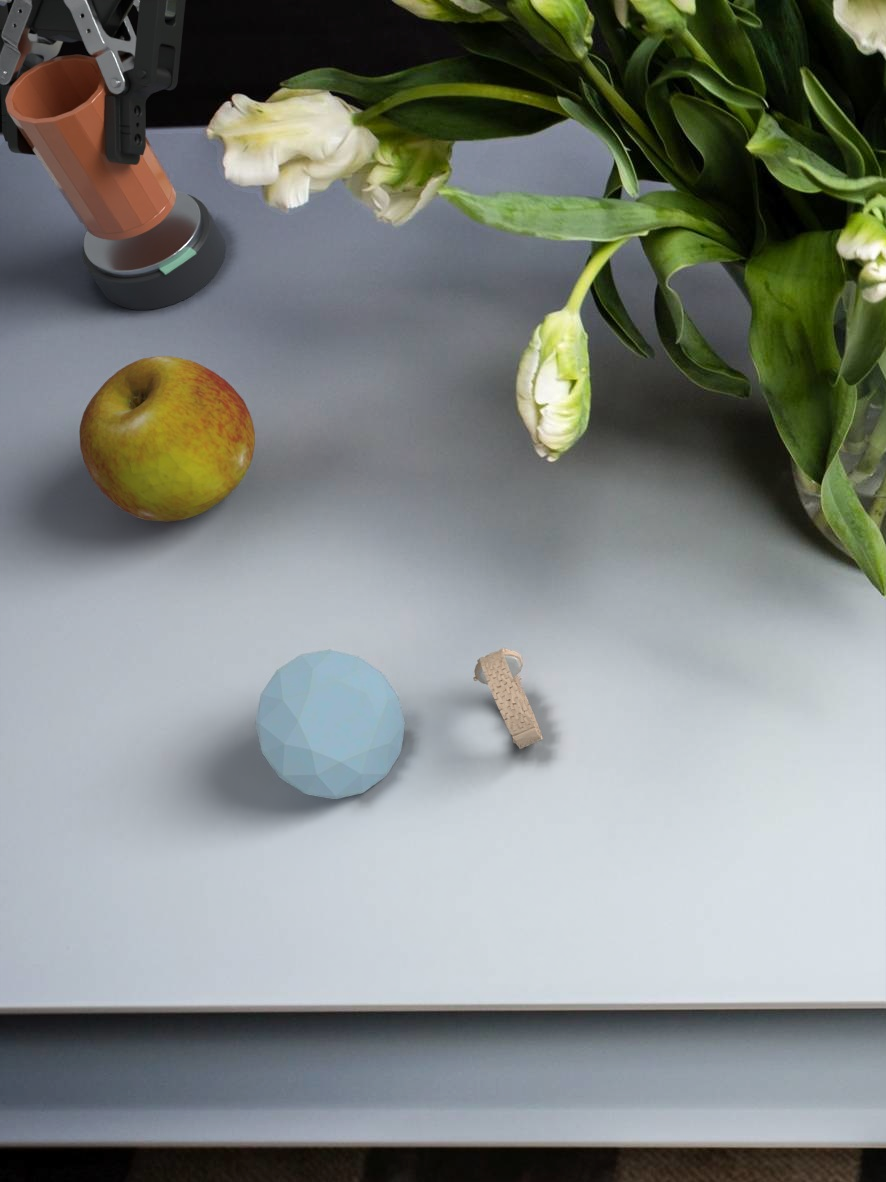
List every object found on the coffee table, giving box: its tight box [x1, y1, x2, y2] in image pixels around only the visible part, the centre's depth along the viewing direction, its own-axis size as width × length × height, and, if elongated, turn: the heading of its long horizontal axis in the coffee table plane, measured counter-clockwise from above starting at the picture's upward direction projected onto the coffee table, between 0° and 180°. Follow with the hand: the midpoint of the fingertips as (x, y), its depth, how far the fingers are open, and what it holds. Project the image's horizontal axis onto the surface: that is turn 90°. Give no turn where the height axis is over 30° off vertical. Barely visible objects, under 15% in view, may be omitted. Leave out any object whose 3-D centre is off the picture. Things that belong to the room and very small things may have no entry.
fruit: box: [79, 355, 256, 523], centre depth 93 cm, size 10×9×8 cm
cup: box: [5, 54, 176, 240], centre depth 99 cm, size 6×6×9 cm
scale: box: [81, 189, 227, 311], centre depth 105 cm, size 8×8×3 cm
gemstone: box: [255, 649, 406, 800], centre depth 84 cm, size 8×8×5 cm
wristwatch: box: [472, 647, 544, 750], centre depth 82 cm, size 3×5×5 cm, turn 24°
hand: (74, 157), depth 97 cm, fingers closed on cup, 6 cm apart
